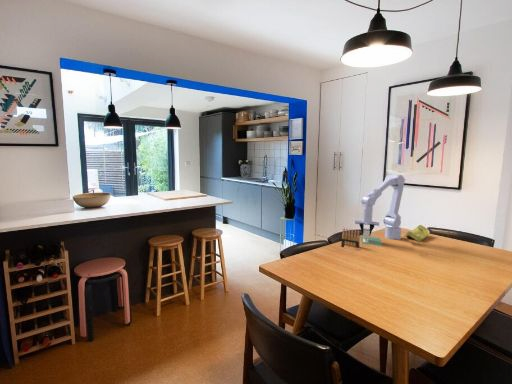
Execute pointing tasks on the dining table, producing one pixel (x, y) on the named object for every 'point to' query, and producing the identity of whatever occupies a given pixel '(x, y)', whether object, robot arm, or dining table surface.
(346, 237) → the ammunition clip
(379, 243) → the header board
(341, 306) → the dining table surface
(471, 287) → the dining table surface
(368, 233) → the plug housing
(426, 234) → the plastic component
